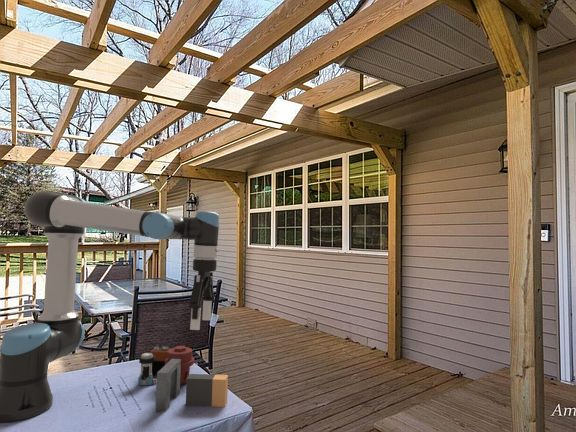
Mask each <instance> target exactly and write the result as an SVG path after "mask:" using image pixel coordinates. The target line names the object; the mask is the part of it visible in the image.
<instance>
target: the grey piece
mask: <svg viewBox="0 0 576 432" xmlns="http://www.w3.org/2000/svg"><path fill="white" fill-rule="evenodd" d="M180 372H181V359H171V360H170V361H169V362H168V363H167V364H166V365H165V366H164V367H163V368H162V369H161V370H160V371H158V372H157V376H156V379H157V380H156V382H157V383H156V386H155V387H156V388H155V389H156V390H155V391H156V392H155V408H154V409H155V412H163V413H165V412H167V411H168V409H169V408H170V405H171V399H176V398H177V397H178V396H179V395H180V394H181V391H180V390H181V389H180V387H181V385H180Z"/></svg>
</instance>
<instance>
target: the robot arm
mask: <svg viewBox="0 0 576 432" xmlns="http://www.w3.org/2000/svg"><path fill="white" fill-rule="evenodd" d="M23 210H24V214H25V216H26V218H27V220H28V221H29V222H30V223H31V224H33V225H35V226H37V227H40V228H43V235H44V236H45V237H46V238H47V239H48V243H47V259H46V272H45V288H44V304H43V312H42V313H41V314H40V315H39V316H37V322H36V323H34V322H33V323H28V324H25V325H24V324H23V325H18V326H16V327H13V328H10V329H8V330H7V331H6V332H5V333H4V334H3V336H2V338H1V344H0V423H9V422H18V421H22V420H26V419H30V418H33V417H35V416H38V415H41V414H43V413H44V412H46V411H48V410H49V409H50V408H51V407H52V406H53V401H54V397H53V393H52V390H51V386H50V384H49V380H48V372H49V364H50V363H52V362H54V361H56V360H58V359H60V358H61V359H62V357H67V356H69V355H70V354H72V353H73V352H75V351H76V350H77V349H79V347H80V346H81V345H82V343H83V341H84V338H85V332H86V331H85V326H84V324H82V321H80V319H79V317H80V315H79V313H78V312H76V310H75V299H76V298H75V296H76V280H77V267H78V266H77V265H78V253H79V252H78V249H79V239H80V238H82V237H83V236H84V234H85V229H92V230H99V231H104V232H105V231H106V232H111V233H120V234H126V235H132V236H140V237H146V238H151V239H154V240H187V241H189V240H190V241H194V243H193V244H194V245H193V256H192V257H193V258H194V259H193V261H192V270H193V271H194V272H197V274H195V275H194V277H193V285H192V290H191V295H190V301H189V305H188V309H191V311H190V325H189V326H190V327H189V330H190V331H191V330H192V331H200V328H201V319H202V321H211V320H212V302H214V301H215V295H214V280H213V275H214V273H213V272H216V271H217V260H216V259H217V258H218V257H217V256H218V253H219V251H220V250H219V248H218V246H219V245H218V242H219V231H220V223H219V221H220V220H219V219H220V218H219V217H220V216H219V213H217V212H215V211H214V212H213V211H206V210H205V211H204V210H202V211H196V213H195V216H191V217H190V216H189V217H188V216H178V215H171V214H167V213H164V212H154V211H147V210H139V209H134V208H126V207H120V206H115V205H114V206H113V205H106V204H101V203H100V204H99V203H92V202H87V201H86V200H85V199H83V198H81V197H78V196H76V195H74V194H67V193H61V192H56V191H50V190H42V191H37V192H35V193H33V194H32V195H31V196H29V197H28V199H27V200H26V201H25V204H24V209H23ZM202 299H203V300H202ZM202 302H203V303H202ZM202 304H203V305H202ZM201 305H202V308H201ZM201 313H202V317H201Z"/></svg>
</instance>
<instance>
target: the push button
mask: <svg viewBox="0 0 576 432" xmlns="http://www.w3.org/2000/svg"><path fill="white" fill-rule="evenodd" d="M154 358H155V356H153V355H152V353H150V352H145V353H142V354H141V355H140V356H139V357H138V361H139V364H140V374H139V376H138V378H137V385H139V386H141V385H142V386H150V385H152V384H155V383H156V384H157V378H155V376H154V375H152V362H154Z"/></svg>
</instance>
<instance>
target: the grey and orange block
mask: <svg viewBox="0 0 576 432" xmlns="http://www.w3.org/2000/svg"><path fill="white" fill-rule="evenodd" d="M228 382H229V375H228V374H210V373H209V374H204V373H189V376H188V377H187V382H186V383H185V385H186V386H185V406H189V407H214V408H215V407H222V408H223V407H224V408H225V407H226V405H227V402H228V386H229V385H228V384H229V383H228Z"/></svg>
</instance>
